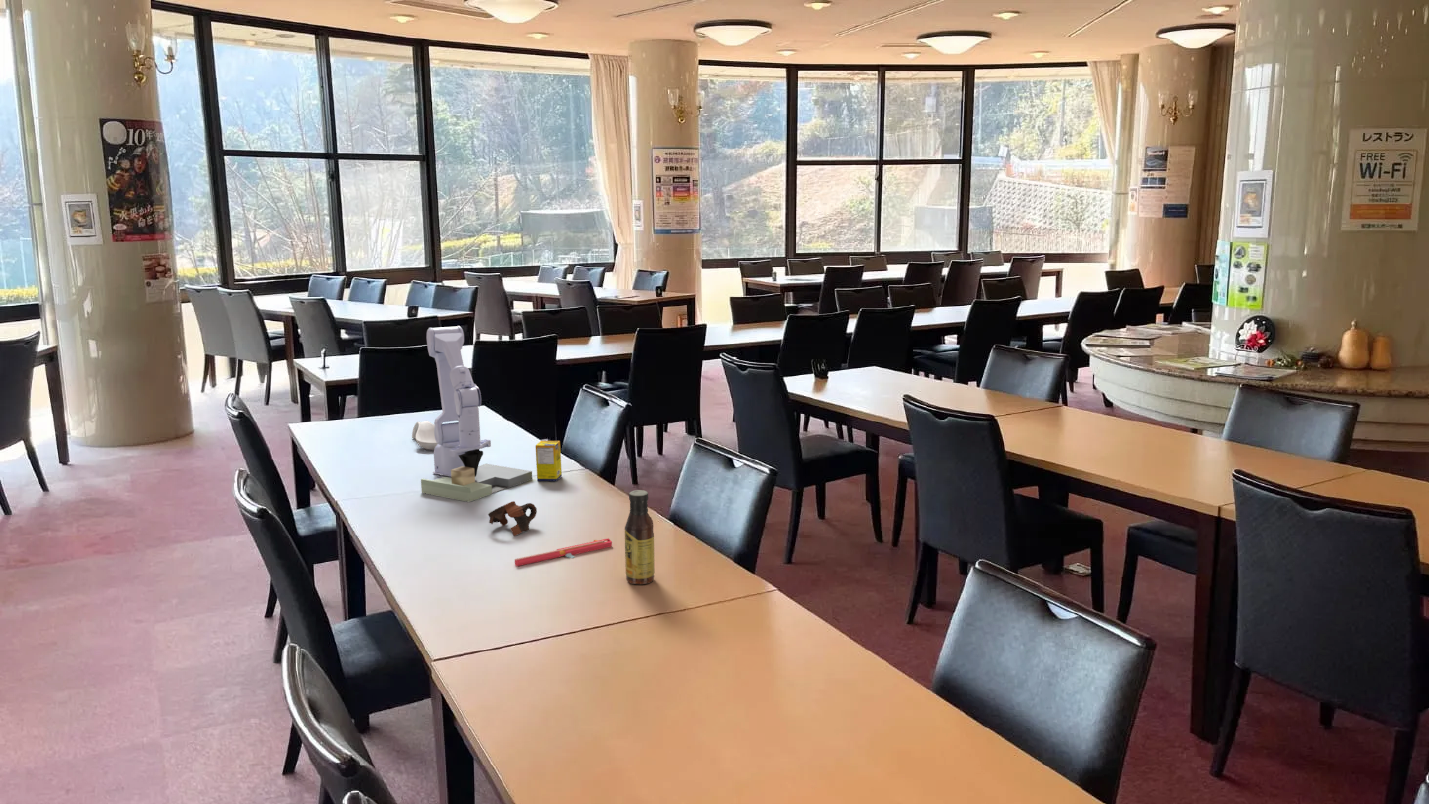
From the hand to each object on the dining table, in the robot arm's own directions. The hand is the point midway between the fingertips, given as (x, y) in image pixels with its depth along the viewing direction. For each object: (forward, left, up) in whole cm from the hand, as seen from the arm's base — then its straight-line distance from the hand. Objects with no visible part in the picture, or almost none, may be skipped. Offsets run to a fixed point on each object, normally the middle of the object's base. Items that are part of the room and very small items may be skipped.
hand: (472, 476), depth 289 cm
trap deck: (0, +2, -3) cm, 4 cm away
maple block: (0, -4, -1) cm, 4 cm away
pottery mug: (+35, -22, -4) cm, 42 cm away
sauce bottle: (+83, -36, -4) cm, 90 cm away
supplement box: (+13, +18, -4) cm, 23 cm away
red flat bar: (+59, -31, -4) cm, 67 cm away
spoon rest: (-51, +32, -4) cm, 60 cm away
